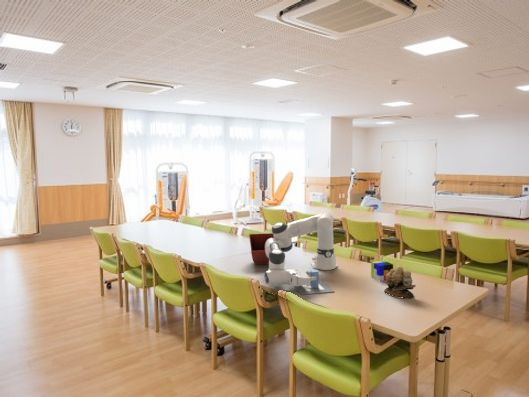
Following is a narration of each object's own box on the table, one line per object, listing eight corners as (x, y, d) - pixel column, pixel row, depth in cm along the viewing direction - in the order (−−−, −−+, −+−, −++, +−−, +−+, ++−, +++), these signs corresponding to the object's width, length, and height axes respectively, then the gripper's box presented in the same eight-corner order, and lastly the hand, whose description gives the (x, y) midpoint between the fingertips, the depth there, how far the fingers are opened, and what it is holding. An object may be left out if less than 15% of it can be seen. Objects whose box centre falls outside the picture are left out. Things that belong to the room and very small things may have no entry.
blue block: (310, 286, 240) (310, 270, 239) (316, 285, 241) (316, 269, 240) (312, 288, 236) (312, 272, 235) (318, 287, 237) (318, 271, 236)
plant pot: (273, 249, 306) (274, 232, 296) (276, 266, 290) (277, 250, 281) (248, 250, 304) (249, 233, 294) (250, 268, 288) (251, 251, 278)
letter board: (292, 284, 246) (292, 283, 246) (322, 281, 250) (322, 280, 250) (301, 295, 226) (301, 294, 226) (334, 292, 230) (334, 291, 230)
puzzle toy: (379, 281, 250) (379, 265, 249) (370, 276, 259) (371, 261, 258) (392, 279, 252) (393, 264, 251) (384, 275, 262) (384, 260, 261)
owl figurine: (419, 295, 224) (419, 266, 222) (410, 301, 215) (411, 271, 213) (389, 288, 236) (389, 260, 234) (380, 293, 228) (380, 265, 226)
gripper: (288, 276, 247) (310, 275, 248) (294, 287, 226) (318, 286, 228) (288, 266, 246) (310, 265, 247) (294, 276, 226) (318, 275, 227)
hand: (314, 275), depth 237 cm, fingers open, 8 cm apart
